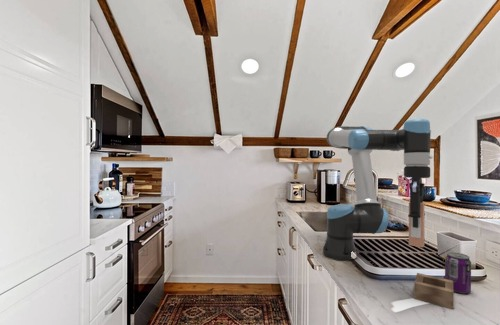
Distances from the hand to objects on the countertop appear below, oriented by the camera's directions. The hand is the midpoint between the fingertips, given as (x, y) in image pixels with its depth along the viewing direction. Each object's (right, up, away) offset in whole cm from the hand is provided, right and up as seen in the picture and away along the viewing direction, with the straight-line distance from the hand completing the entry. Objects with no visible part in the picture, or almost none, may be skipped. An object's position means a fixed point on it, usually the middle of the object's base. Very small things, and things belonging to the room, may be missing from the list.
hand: (416, 235), depth 88 cm
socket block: (+4, -19, -2) cm, 20 cm away
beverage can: (+16, -20, +3) cm, 26 cm away
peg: (0, -3, 0) cm, 3 cm away
